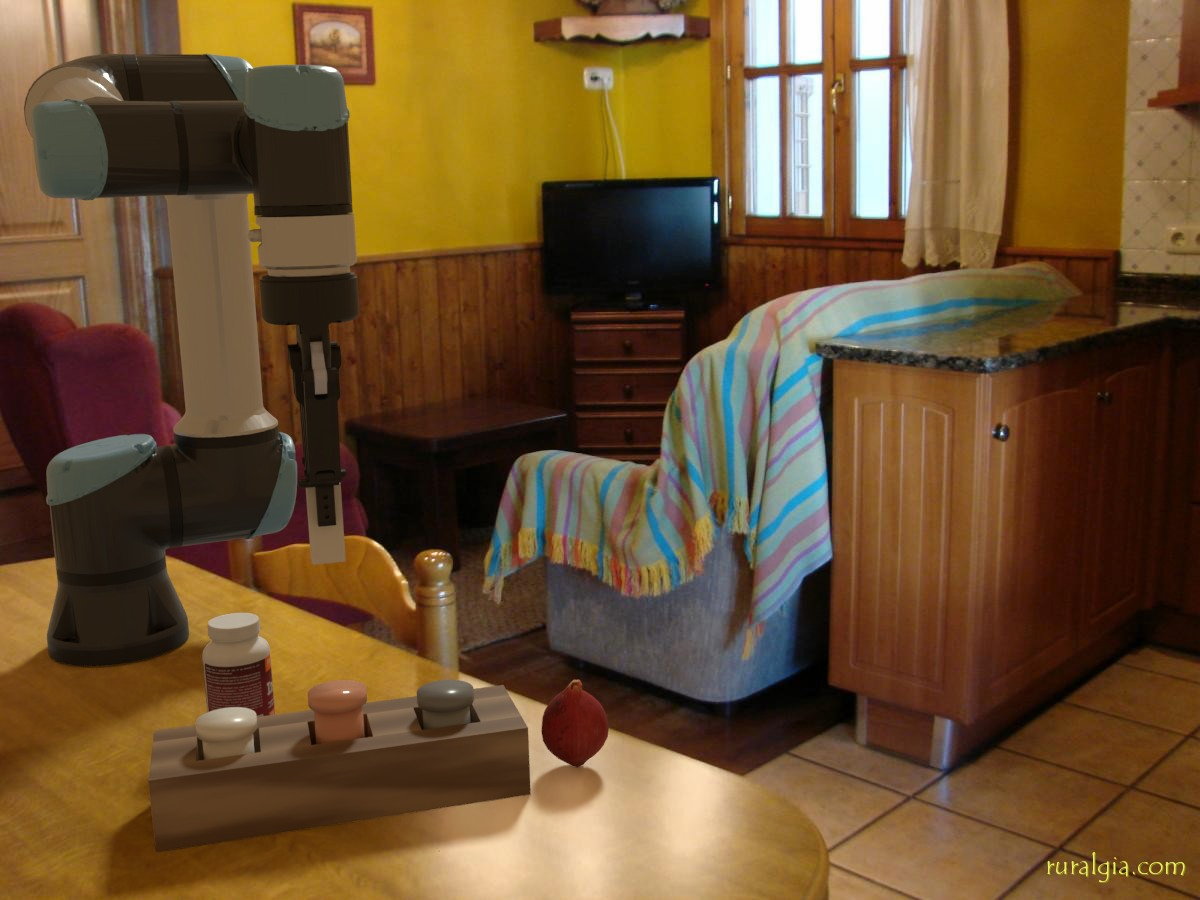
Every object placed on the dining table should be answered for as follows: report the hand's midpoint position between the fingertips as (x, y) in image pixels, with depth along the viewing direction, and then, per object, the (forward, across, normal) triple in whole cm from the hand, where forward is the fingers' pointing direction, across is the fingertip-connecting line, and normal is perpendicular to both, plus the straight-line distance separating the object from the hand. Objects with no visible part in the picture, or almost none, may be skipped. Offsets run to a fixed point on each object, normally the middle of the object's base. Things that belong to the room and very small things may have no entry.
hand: (328, 560), depth 108 cm
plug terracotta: (+19, +1, 0) cm, 19 cm away
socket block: (+21, +1, 0) cm, 21 cm away
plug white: (+20, +1, -9) cm, 22 cm away
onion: (+21, +2, +20) cm, 29 cm away
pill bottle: (+21, -16, -8) cm, 28 cm away
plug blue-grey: (+20, +1, +9) cm, 22 cm away
